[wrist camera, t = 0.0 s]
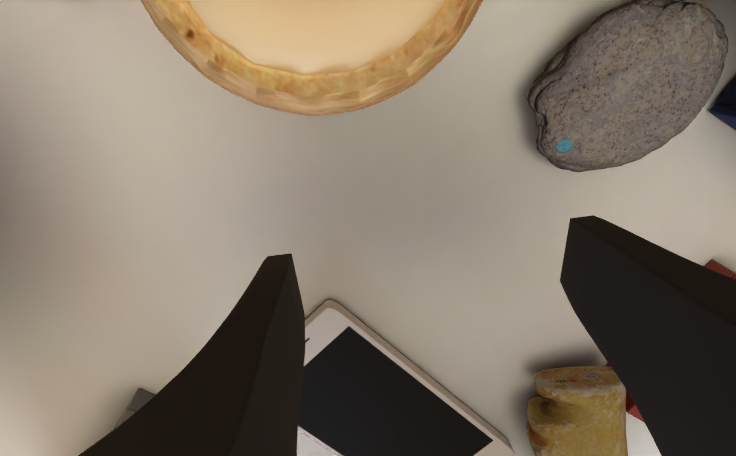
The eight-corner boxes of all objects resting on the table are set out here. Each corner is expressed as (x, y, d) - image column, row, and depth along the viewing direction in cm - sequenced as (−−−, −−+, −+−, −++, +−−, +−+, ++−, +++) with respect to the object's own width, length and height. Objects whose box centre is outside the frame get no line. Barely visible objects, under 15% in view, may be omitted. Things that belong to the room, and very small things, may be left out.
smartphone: (427, 506, 31) (430, 519, 30) (240, 379, 26) (237, 391, 25) (512, 443, 29) (518, 455, 28) (330, 295, 24) (330, 305, 23)
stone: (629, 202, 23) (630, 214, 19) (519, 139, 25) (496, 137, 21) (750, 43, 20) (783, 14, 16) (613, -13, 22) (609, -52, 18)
